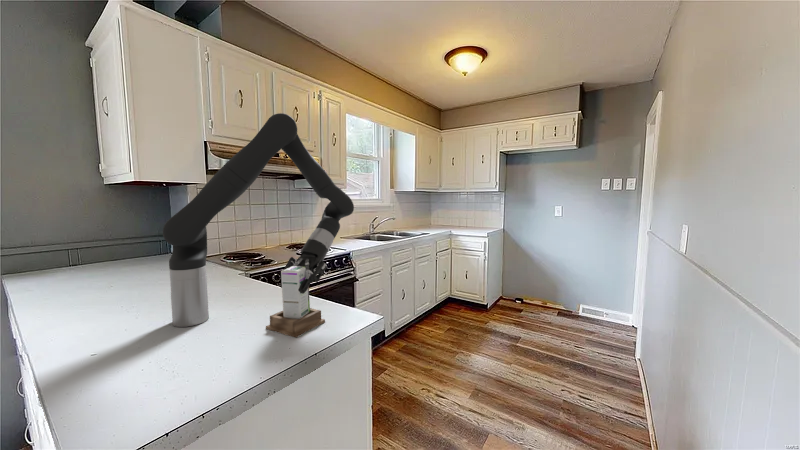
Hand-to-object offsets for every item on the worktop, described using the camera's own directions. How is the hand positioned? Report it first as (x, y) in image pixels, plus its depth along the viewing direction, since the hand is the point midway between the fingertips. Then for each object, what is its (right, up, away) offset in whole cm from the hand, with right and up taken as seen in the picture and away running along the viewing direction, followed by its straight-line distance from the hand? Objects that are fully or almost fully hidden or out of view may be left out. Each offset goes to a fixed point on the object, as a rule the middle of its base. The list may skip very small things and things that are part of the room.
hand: (291, 290), depth 90 cm
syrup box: (+1, -8, +2) cm, 9 cm away
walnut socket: (+1, -11, +2) cm, 11 cm away
